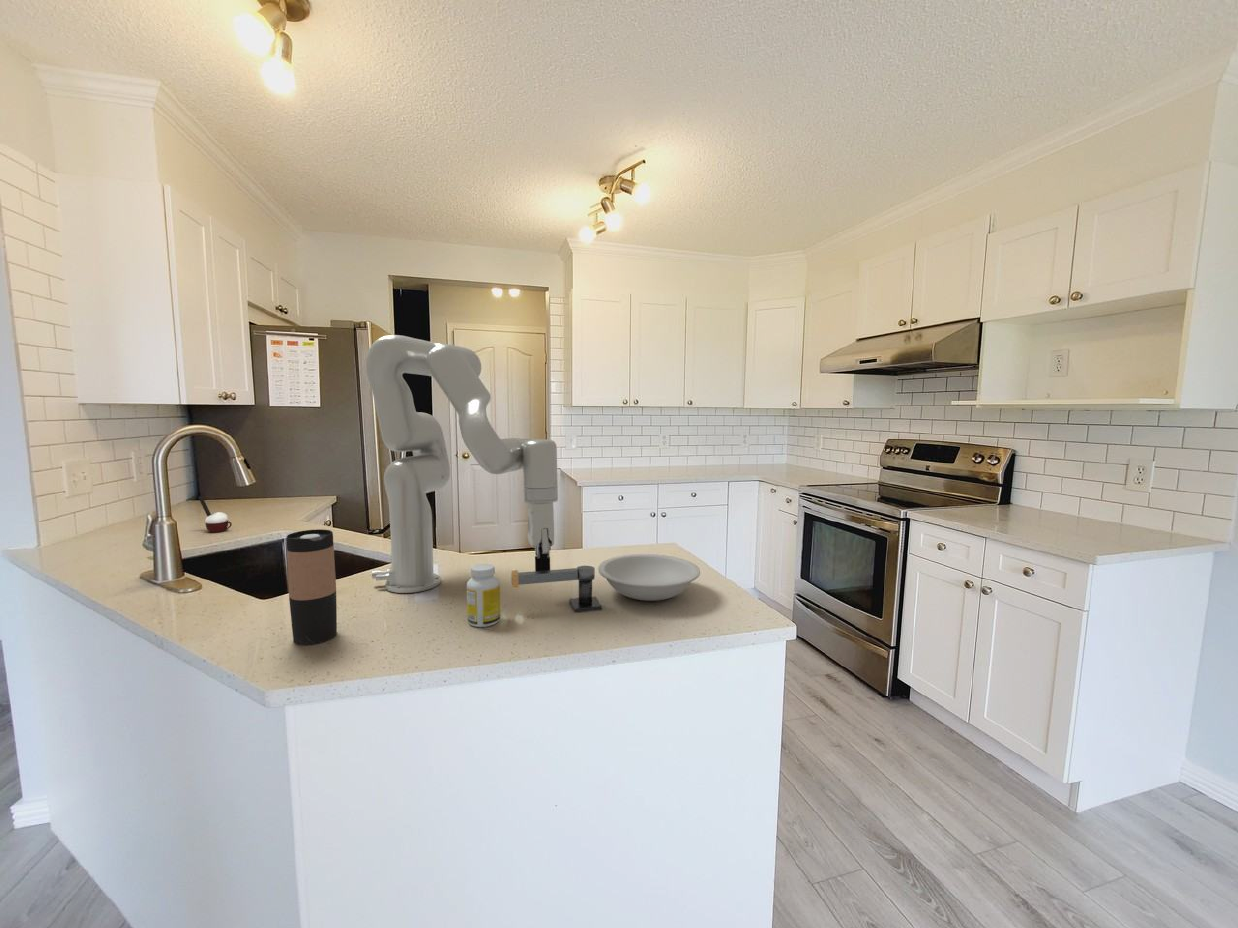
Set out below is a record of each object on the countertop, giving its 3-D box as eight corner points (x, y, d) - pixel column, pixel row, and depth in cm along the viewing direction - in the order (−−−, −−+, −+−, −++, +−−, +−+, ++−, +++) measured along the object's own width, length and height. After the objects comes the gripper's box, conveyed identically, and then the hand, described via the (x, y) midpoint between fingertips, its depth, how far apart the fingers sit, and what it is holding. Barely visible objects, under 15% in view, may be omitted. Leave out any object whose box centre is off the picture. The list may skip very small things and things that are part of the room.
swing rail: (592, 575, 117) (592, 563, 116) (596, 581, 113) (596, 569, 112) (511, 582, 111) (511, 569, 111) (512, 588, 108) (512, 575, 107)
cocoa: (235, 531, 179) (235, 497, 178) (216, 535, 173) (216, 500, 172) (215, 528, 182) (215, 494, 181) (196, 531, 176) (196, 497, 175)
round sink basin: (719, 594, 123) (720, 568, 122) (655, 624, 105) (656, 593, 105) (642, 572, 139) (643, 548, 138) (576, 594, 122) (576, 567, 121)
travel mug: (304, 628, 101) (299, 529, 99) (345, 627, 102) (340, 528, 100) (283, 646, 94) (276, 539, 92) (326, 645, 94) (321, 538, 92)
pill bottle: (506, 618, 108) (505, 564, 106) (488, 630, 102) (487, 573, 100) (479, 613, 110) (478, 560, 109) (460, 625, 104) (459, 569, 102)
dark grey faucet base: (574, 612, 111) (574, 585, 110) (569, 602, 117) (569, 576, 116) (601, 609, 113) (601, 582, 112) (595, 599, 118) (595, 574, 118)
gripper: (520, 490, 122) (522, 565, 124) (527, 500, 108) (530, 586, 109) (552, 488, 124) (553, 563, 126) (563, 498, 110) (565, 582, 112)
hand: (542, 573), depth 118 cm, fingers closed
